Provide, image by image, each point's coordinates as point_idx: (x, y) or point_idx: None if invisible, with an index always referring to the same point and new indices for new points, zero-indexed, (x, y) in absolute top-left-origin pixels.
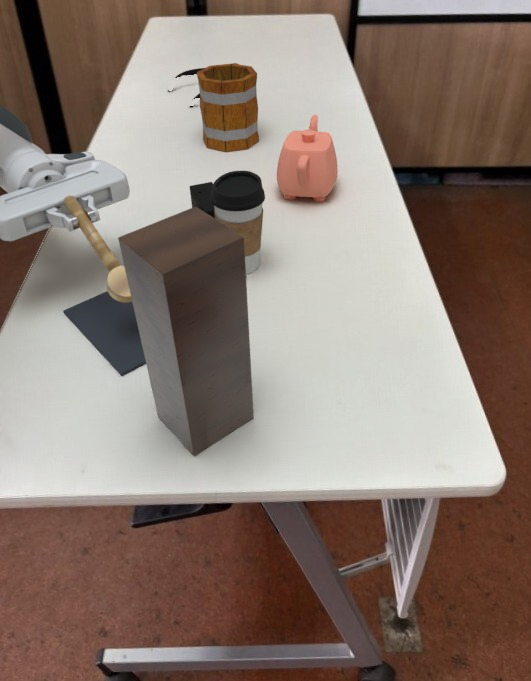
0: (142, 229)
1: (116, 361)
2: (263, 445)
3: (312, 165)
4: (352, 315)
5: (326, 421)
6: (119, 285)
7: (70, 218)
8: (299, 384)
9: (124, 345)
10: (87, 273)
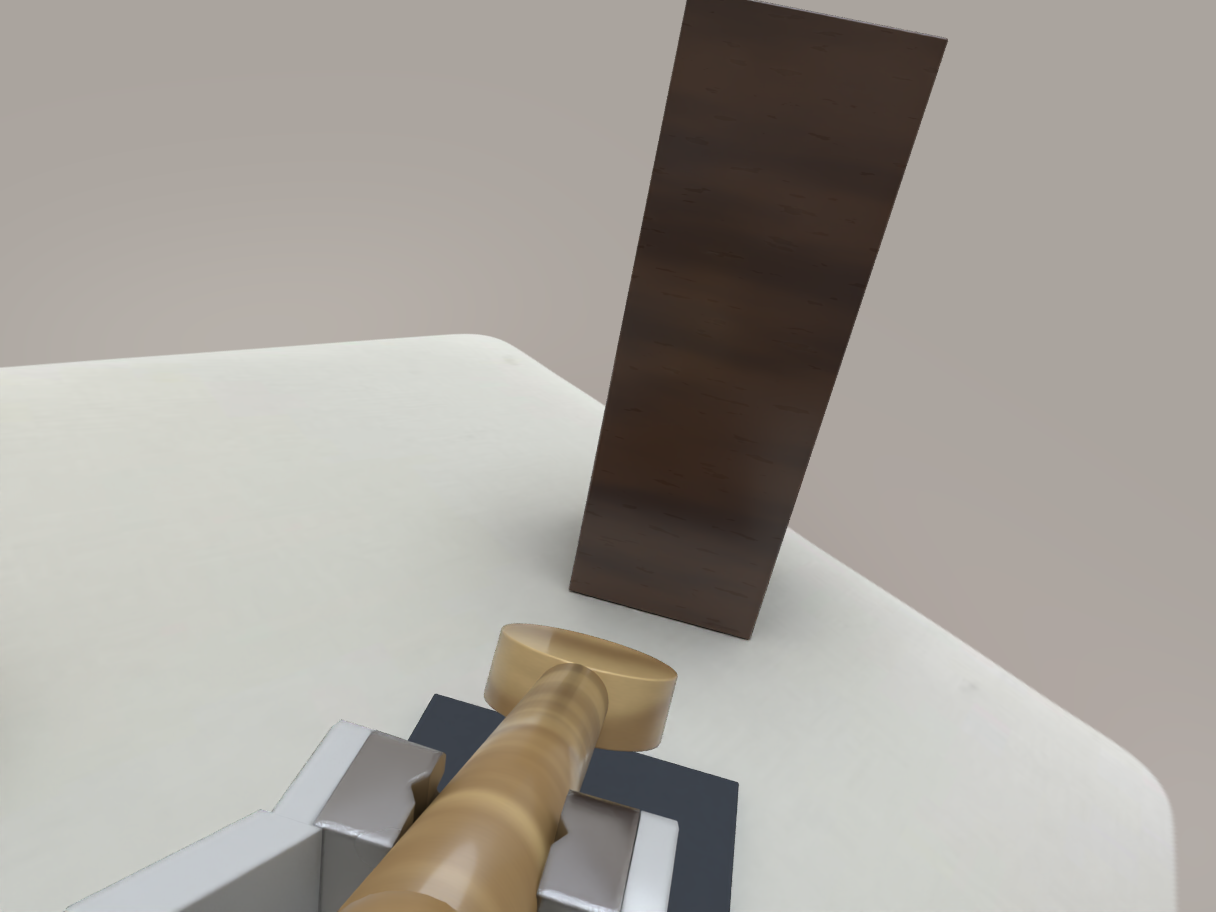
0: (873, 24)
1: (716, 831)
2: None
3: None
4: (153, 452)
5: (525, 443)
6: (630, 659)
7: (627, 821)
8: (462, 482)
9: None
10: None
